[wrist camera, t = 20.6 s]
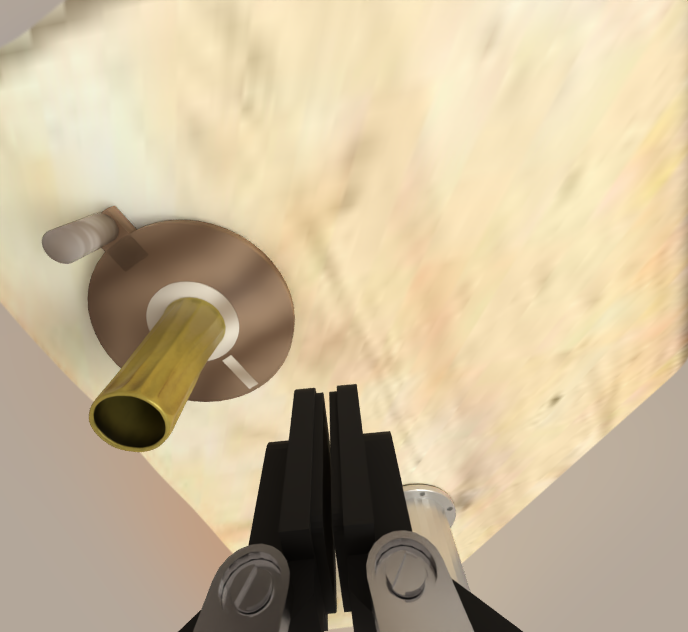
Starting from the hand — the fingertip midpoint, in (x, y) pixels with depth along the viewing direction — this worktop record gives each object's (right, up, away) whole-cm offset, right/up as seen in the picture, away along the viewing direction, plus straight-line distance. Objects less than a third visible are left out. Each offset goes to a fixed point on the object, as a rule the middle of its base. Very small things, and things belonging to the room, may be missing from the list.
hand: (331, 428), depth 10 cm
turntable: (-16, +4, +29) cm, 33 cm away
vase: (-15, +2, +28) cm, 31 cm away
